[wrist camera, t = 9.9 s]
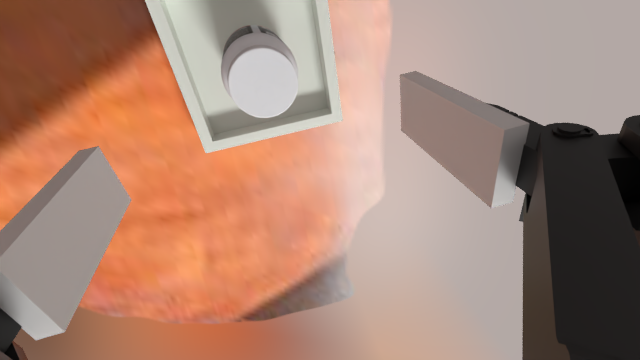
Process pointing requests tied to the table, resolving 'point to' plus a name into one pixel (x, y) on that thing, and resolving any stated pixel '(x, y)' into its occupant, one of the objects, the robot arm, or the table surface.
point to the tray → (206, 57)
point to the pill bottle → (259, 71)
